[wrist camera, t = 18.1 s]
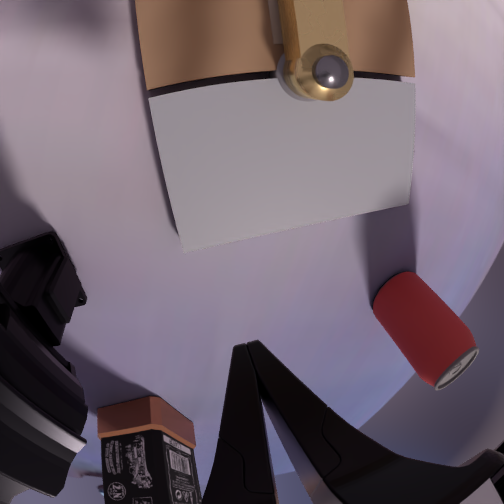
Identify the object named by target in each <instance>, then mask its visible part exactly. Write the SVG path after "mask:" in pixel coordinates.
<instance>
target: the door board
mask: <svg viewBox="0 0 504 504" xmlns="http://www.w3.org/2000/svg"><path fill="white" fill-rule="evenodd" d="M342 2H343V8H344V15H345V22H346V30H347V38H348V48H349V58H350V61H351V63H352V66H353V70H354V71H359V72H371V73H382V74H390V75H398V76H407V77H415V68H414V52H413V41H412V32H411V23H410V16H409V9H408V3H407V0H342ZM135 5H136V15H137V24H138V32H139V40H140V48H141V55H142V62H143V68H144V75H145V81H146V87H147V90H152V89H156V88H160V87H165V86H169V85H174V84H179V83H184V82H189V81H195V80H200V79H206V78H213V77H220V76H227V75H235V74H245V73H255V72H268V71H275V70H277V65H278V62H279V59H280V58H281V56H282V55H283V53H284V47H283V39H282V31H281V23H280V16H279V9H278V2H277V0H135Z"/></svg>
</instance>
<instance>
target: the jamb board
mask: <svg viewBox="0 0 504 504" xmlns="http://www.w3.org/2000/svg"><path fill="white" fill-rule="evenodd" d="M284 63H285V55H284V53H283V55H282V56H281V58H280V59H279V62H278V65H277V70H275V71H269V78H270V79H260V80H250V81H240V82H232V83H225V84H218V85H211V86H205V87H199V88H193V89H188V90H183V91H178V92H173V93H169V94H164V95H160V96H156V97H152V98H148V99H149V104H150V110H151V115H152V121H153V126H154V131H155V136H156V141H157V146H158V150H159V155H160V160H161V164H162V169H163V173H164V177H165V182H166V186H167V190H168V194H169V198H170V203H171V207H172V211H173V214H174V218H175V222H176V226H177V230H178V234H179V237H180V241H181V245H182V248H183V252H184V253H188V252H192V251H196V250H201V249H205V248H209V247H214V246H218V245H223V244H227V243H231V242H236V241H240V240H245V239H249V238H253V237H258V236H262V235H267V234H271V233H276V232H280V231H285V230H289V229H294V228H299V227H303V226H308V225H312V224H317V223H322V222H326V221H331V220H336V219H340V218H345V217H350V216H354V215H359V214H364V213H369V212H374V211H378V210H383V209H388V208H393V207H398V206H403V205H408V204H409V196H410V188H411V179H412V169H413V156H414V140H415V84H414V83H407V82H399V81H391V80H380V79H368V78H354V80H353V84H352V87H351V89H350V90H349V92H348V93H347V94H346V95H345V96H344V97H342V98H340V99H338V100H335V101H322V100H315V99H308V98H303V97H300V96H298V95H296V94H295V93H294V92H292V91H291V90H290V88H289V87H288V86H287V84H286V82H285V79H284V75H283V66H284Z"/></svg>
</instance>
